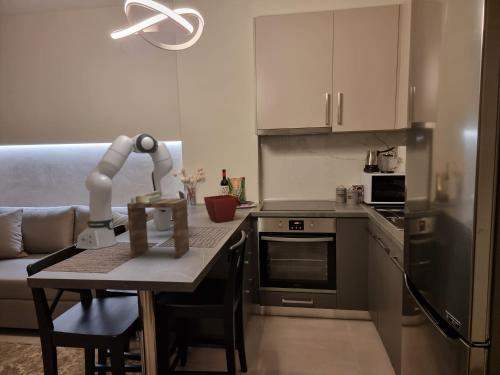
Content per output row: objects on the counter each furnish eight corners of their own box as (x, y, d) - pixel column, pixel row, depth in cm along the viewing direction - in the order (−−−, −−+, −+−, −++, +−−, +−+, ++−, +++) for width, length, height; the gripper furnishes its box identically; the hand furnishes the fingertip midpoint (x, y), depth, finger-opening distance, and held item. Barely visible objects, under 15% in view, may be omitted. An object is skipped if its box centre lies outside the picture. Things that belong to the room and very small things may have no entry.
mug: (172, 225, 234) (171, 206, 232) (180, 228, 225) (179, 208, 224) (151, 229, 224) (150, 209, 223) (158, 232, 216) (157, 211, 214)
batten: (135, 202, 162) (135, 196, 161) (156, 196, 183) (155, 190, 183) (141, 202, 161) (141, 196, 161) (161, 196, 183) (161, 190, 182)
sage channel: (131, 203, 164) (130, 198, 164) (141, 199, 175) (141, 194, 174) (151, 202, 162) (150, 197, 162) (160, 199, 173) (160, 194, 173)
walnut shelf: (131, 257, 165) (127, 203, 162) (144, 249, 179) (141, 199, 176) (179, 258, 161) (176, 203, 158) (189, 249, 175) (186, 198, 172)
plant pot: (204, 219, 250) (203, 196, 248) (229, 216, 258) (228, 194, 256) (213, 224, 233) (211, 199, 231) (239, 221, 241) (238, 197, 239)
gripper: (157, 203, 205) (147, 194, 193) (190, 202, 202) (182, 193, 189) (156, 213, 203) (145, 205, 190) (189, 213, 199) (181, 204, 187)
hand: (164, 199), depth 190 cm, fingers open, 8 cm apart
